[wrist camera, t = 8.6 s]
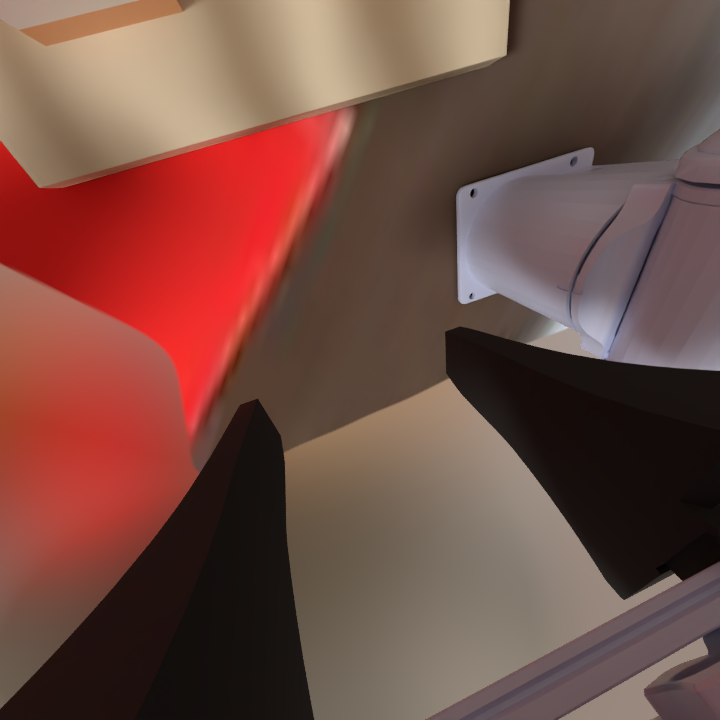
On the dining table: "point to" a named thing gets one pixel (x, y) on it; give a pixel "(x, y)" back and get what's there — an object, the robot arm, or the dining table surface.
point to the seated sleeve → (79, 16)
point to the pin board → (223, 75)
